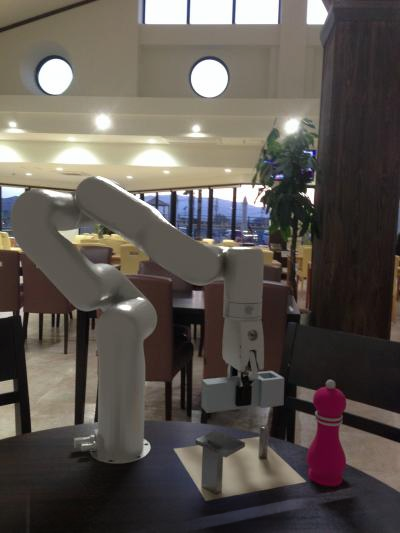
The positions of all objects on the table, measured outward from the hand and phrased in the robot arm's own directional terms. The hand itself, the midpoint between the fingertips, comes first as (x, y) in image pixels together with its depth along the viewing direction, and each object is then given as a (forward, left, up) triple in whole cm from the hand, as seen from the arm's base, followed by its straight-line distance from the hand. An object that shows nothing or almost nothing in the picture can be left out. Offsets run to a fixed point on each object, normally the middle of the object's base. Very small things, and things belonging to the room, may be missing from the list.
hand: (239, 401), depth 88 cm
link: (+1, 0, -1) cm, 1 cm away
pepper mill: (+14, -10, -14) cm, 22 cm away
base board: (-1, -1, -14) cm, 14 cm away
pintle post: (+6, 0, -14) cm, 15 cm away
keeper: (-6, -6, -14) cm, 16 cm away
